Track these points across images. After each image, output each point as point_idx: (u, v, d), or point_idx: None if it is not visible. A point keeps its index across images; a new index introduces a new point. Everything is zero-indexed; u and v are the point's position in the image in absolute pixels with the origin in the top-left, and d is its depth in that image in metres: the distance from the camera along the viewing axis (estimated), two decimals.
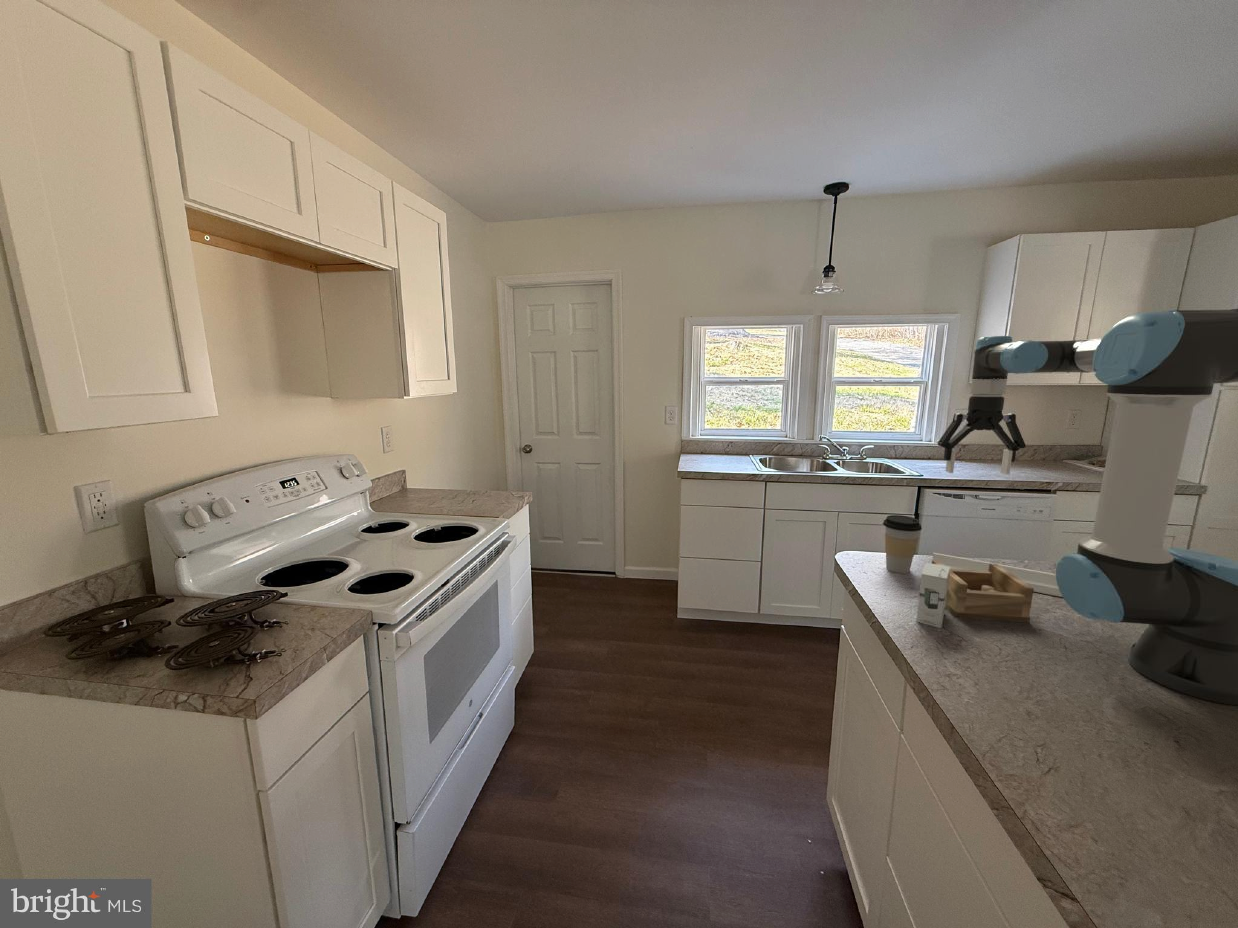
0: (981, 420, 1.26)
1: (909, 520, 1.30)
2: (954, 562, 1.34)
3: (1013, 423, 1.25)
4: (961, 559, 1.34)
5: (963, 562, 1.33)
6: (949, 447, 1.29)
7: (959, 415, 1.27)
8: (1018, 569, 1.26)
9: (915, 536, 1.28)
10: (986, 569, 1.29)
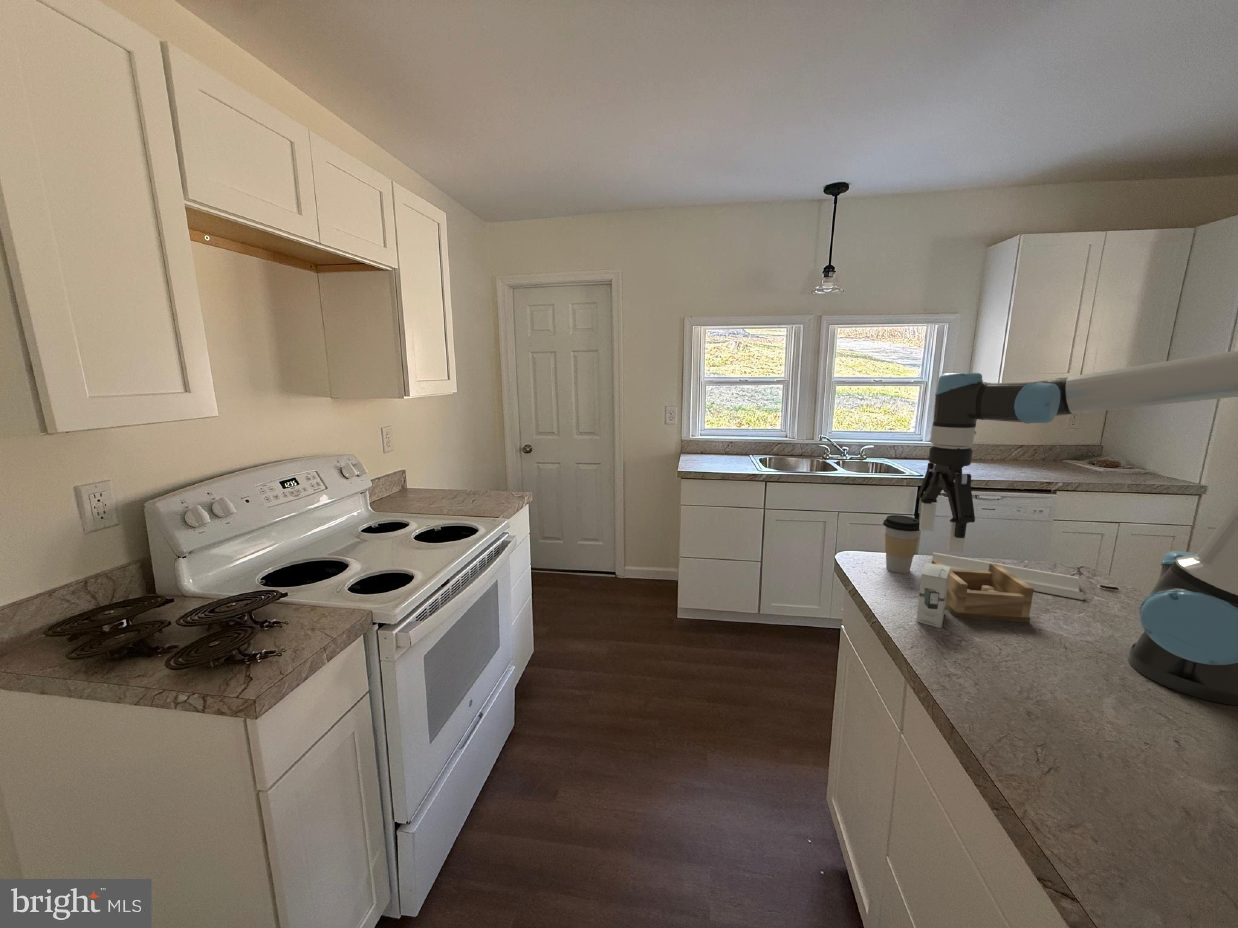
0: (934, 474, 1.03)
1: (909, 520, 1.30)
2: (954, 562, 1.34)
3: (956, 486, 0.96)
4: (961, 559, 1.34)
5: (963, 562, 1.33)
6: (921, 499, 1.11)
7: (928, 464, 1.08)
8: (1017, 568, 1.27)
9: (915, 536, 1.28)
10: (986, 569, 1.30)
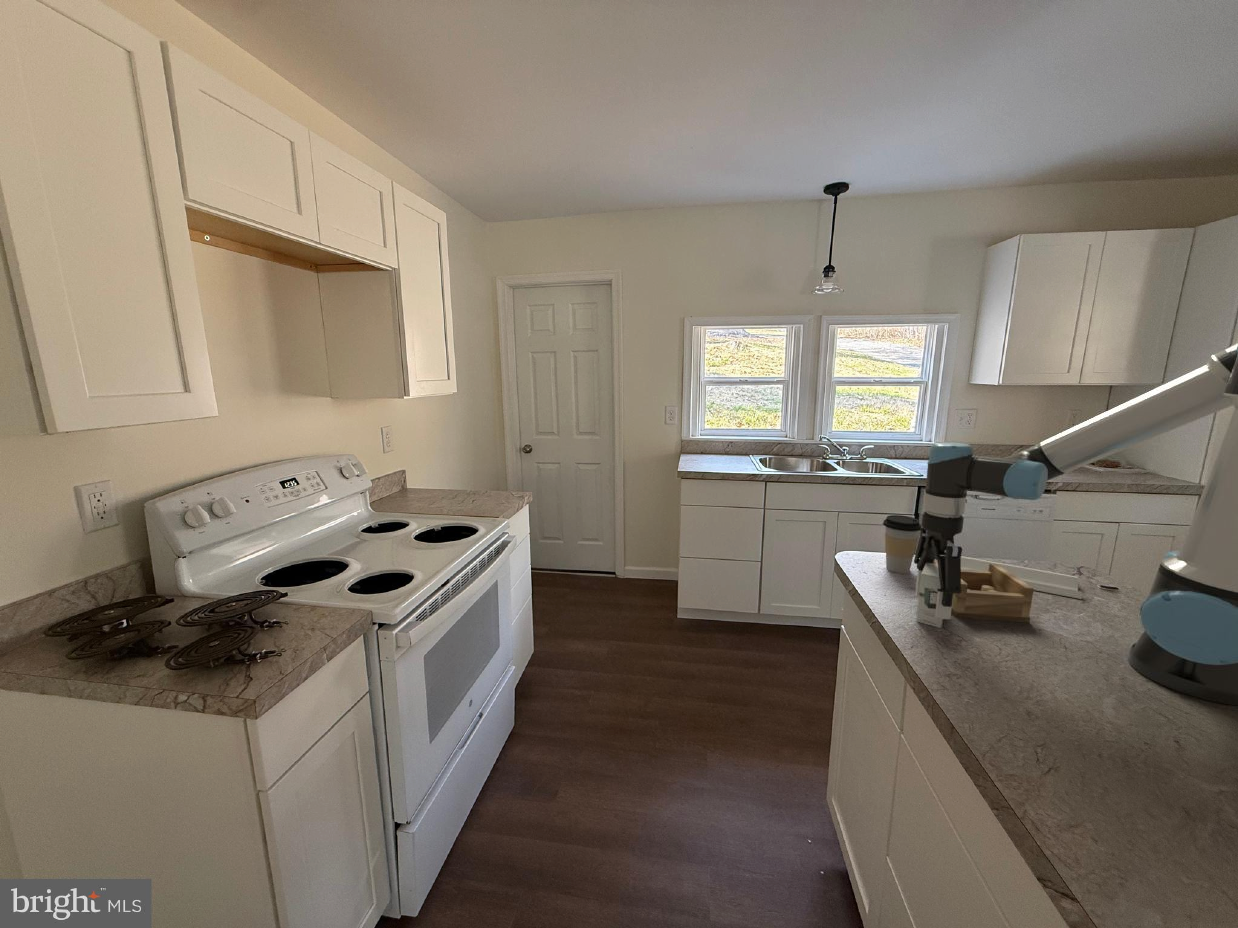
0: (927, 538, 1.06)
1: (909, 520, 1.30)
2: None
3: (946, 558, 0.99)
4: None
5: (962, 560, 1.34)
6: (917, 566, 1.12)
7: (920, 529, 1.11)
8: (1016, 567, 1.27)
9: (915, 536, 1.28)
10: (985, 567, 1.31)
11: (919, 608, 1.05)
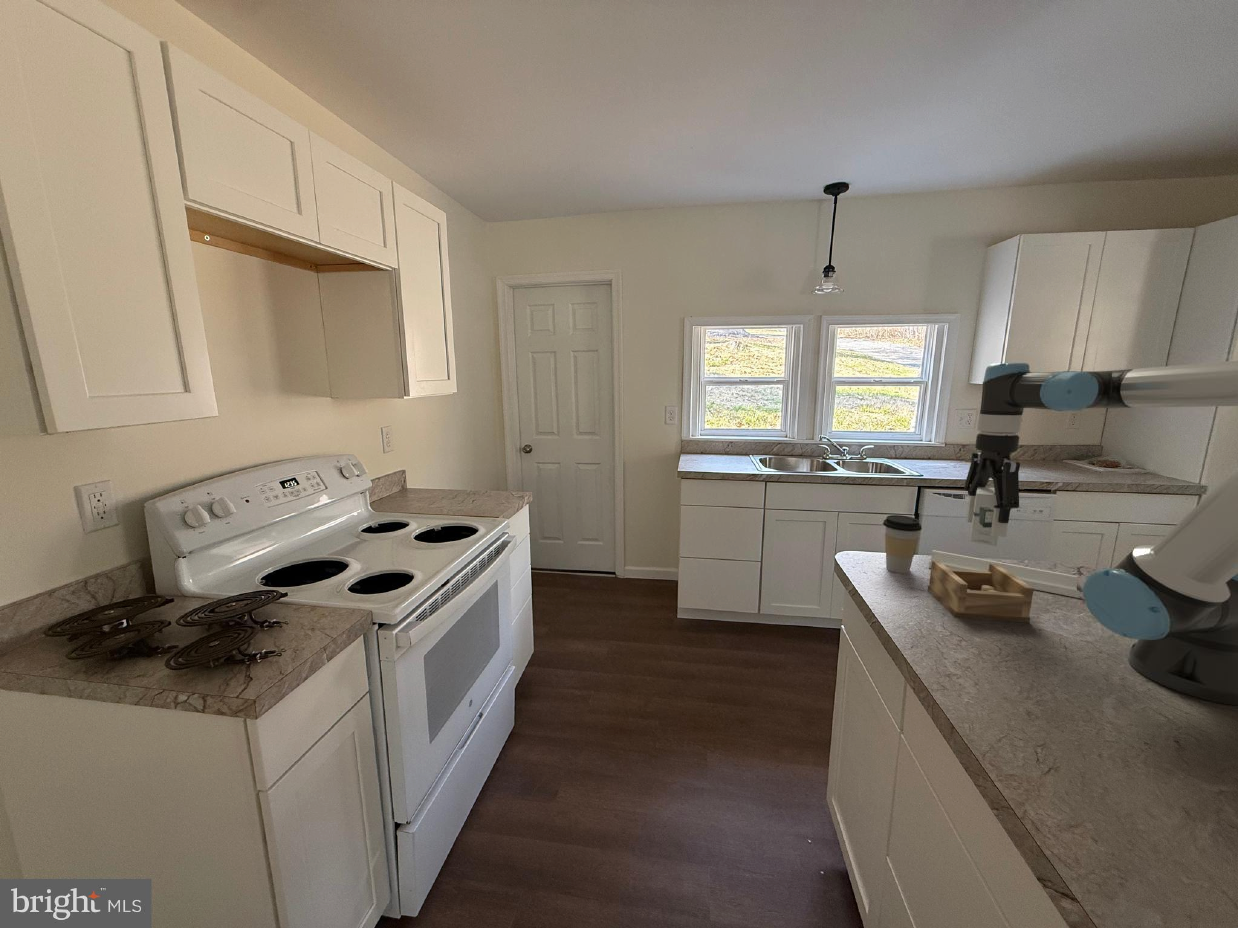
0: (980, 460, 1.08)
1: (909, 520, 1.30)
2: (953, 560, 1.36)
3: (1004, 474, 1.01)
4: (960, 556, 1.35)
5: (961, 559, 1.35)
6: (968, 492, 1.14)
7: (972, 454, 1.13)
8: (1016, 566, 1.28)
9: (915, 536, 1.28)
10: (984, 566, 1.31)
11: (974, 528, 1.07)
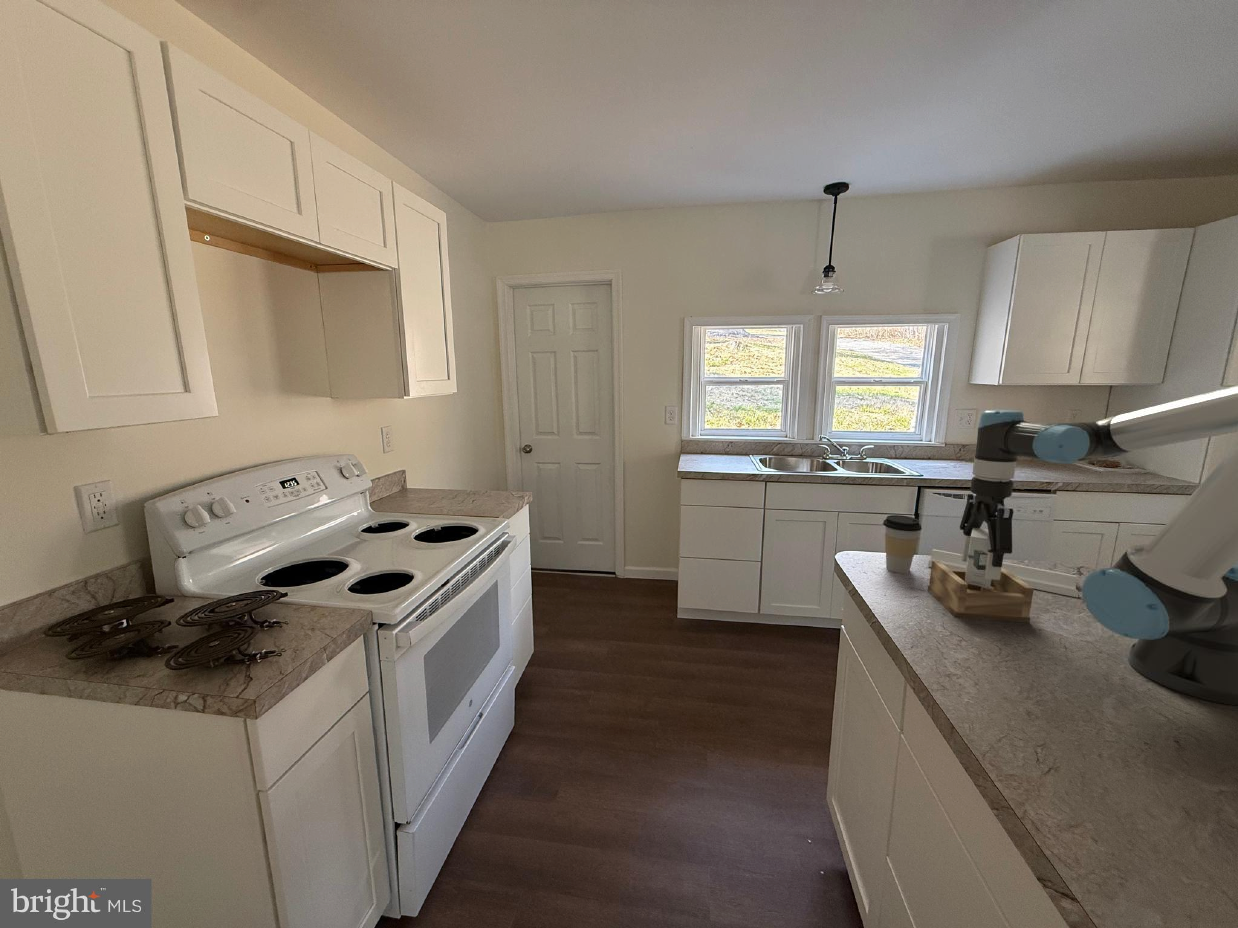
0: (975, 503, 1.10)
1: (909, 520, 1.30)
2: (953, 559, 1.36)
3: (997, 519, 1.03)
4: (959, 555, 1.36)
5: (961, 558, 1.35)
6: (963, 532, 1.16)
7: (967, 495, 1.15)
8: (1015, 566, 1.28)
9: (915, 536, 1.28)
10: None
11: (968, 570, 1.09)
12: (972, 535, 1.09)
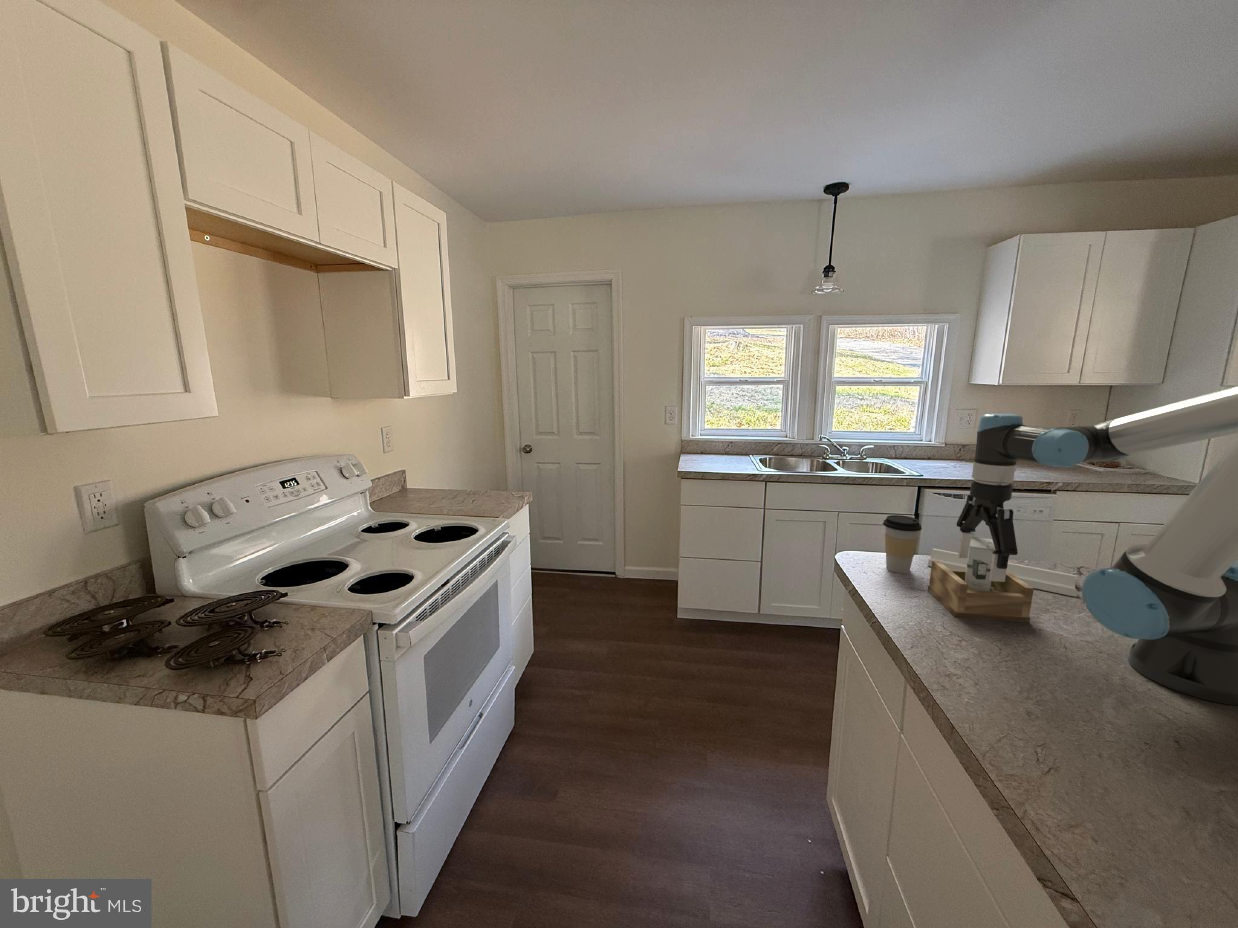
0: (975, 506, 1.10)
1: (909, 520, 1.30)
2: (952, 558, 1.37)
3: (999, 521, 1.02)
4: None
5: (961, 558, 1.36)
6: (960, 528, 1.18)
7: (967, 496, 1.15)
8: (1015, 565, 1.29)
9: (915, 536, 1.28)
10: None
11: (967, 579, 1.10)
12: (971, 544, 1.09)
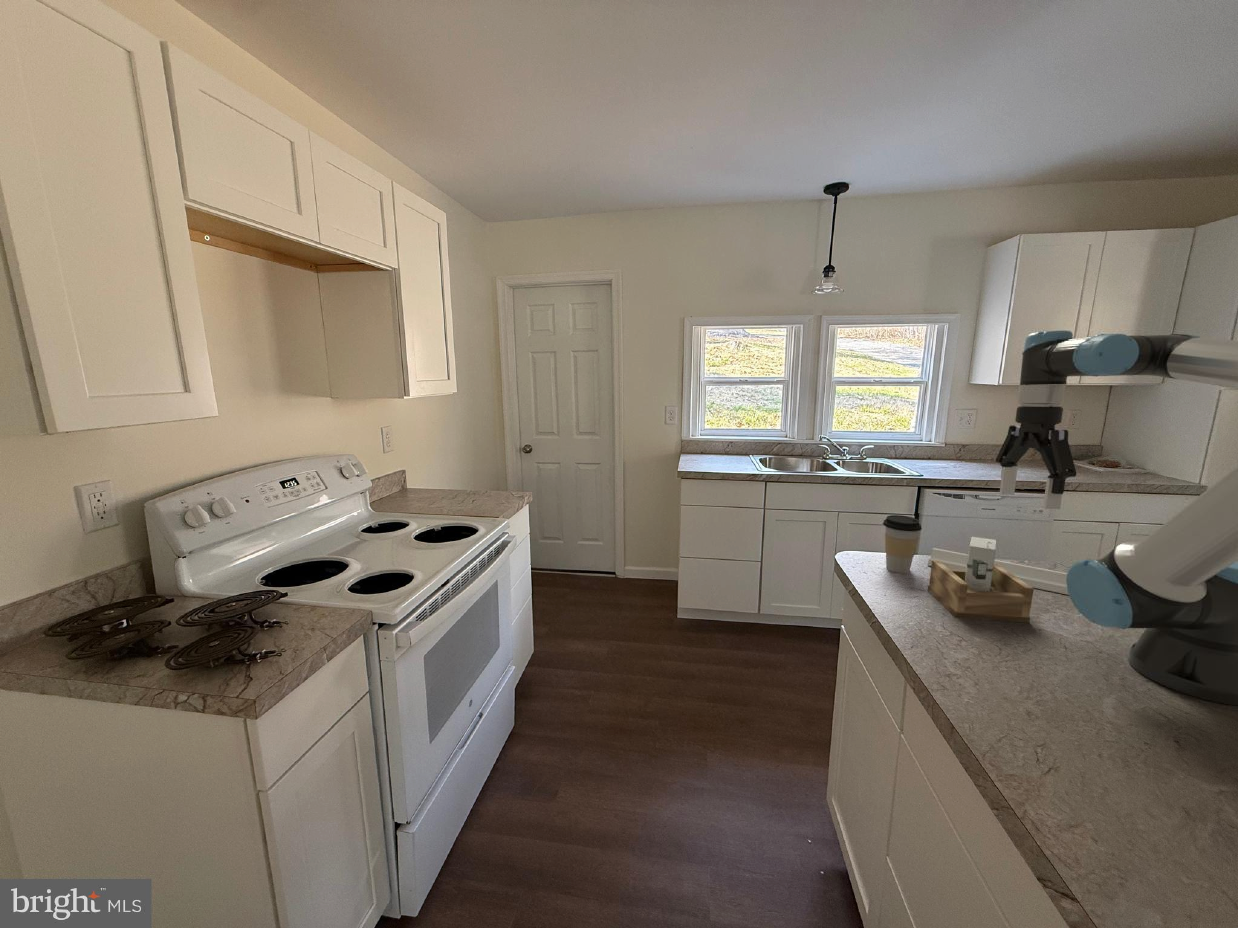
0: (1021, 434, 1.04)
1: (909, 520, 1.30)
2: (953, 557, 1.37)
3: (1053, 442, 0.96)
4: (959, 554, 1.37)
5: (961, 557, 1.36)
6: (1001, 463, 1.11)
7: (1009, 427, 1.09)
8: (1015, 565, 1.29)
9: (915, 536, 1.28)
10: None
11: (967, 579, 1.10)
12: (971, 544, 1.09)
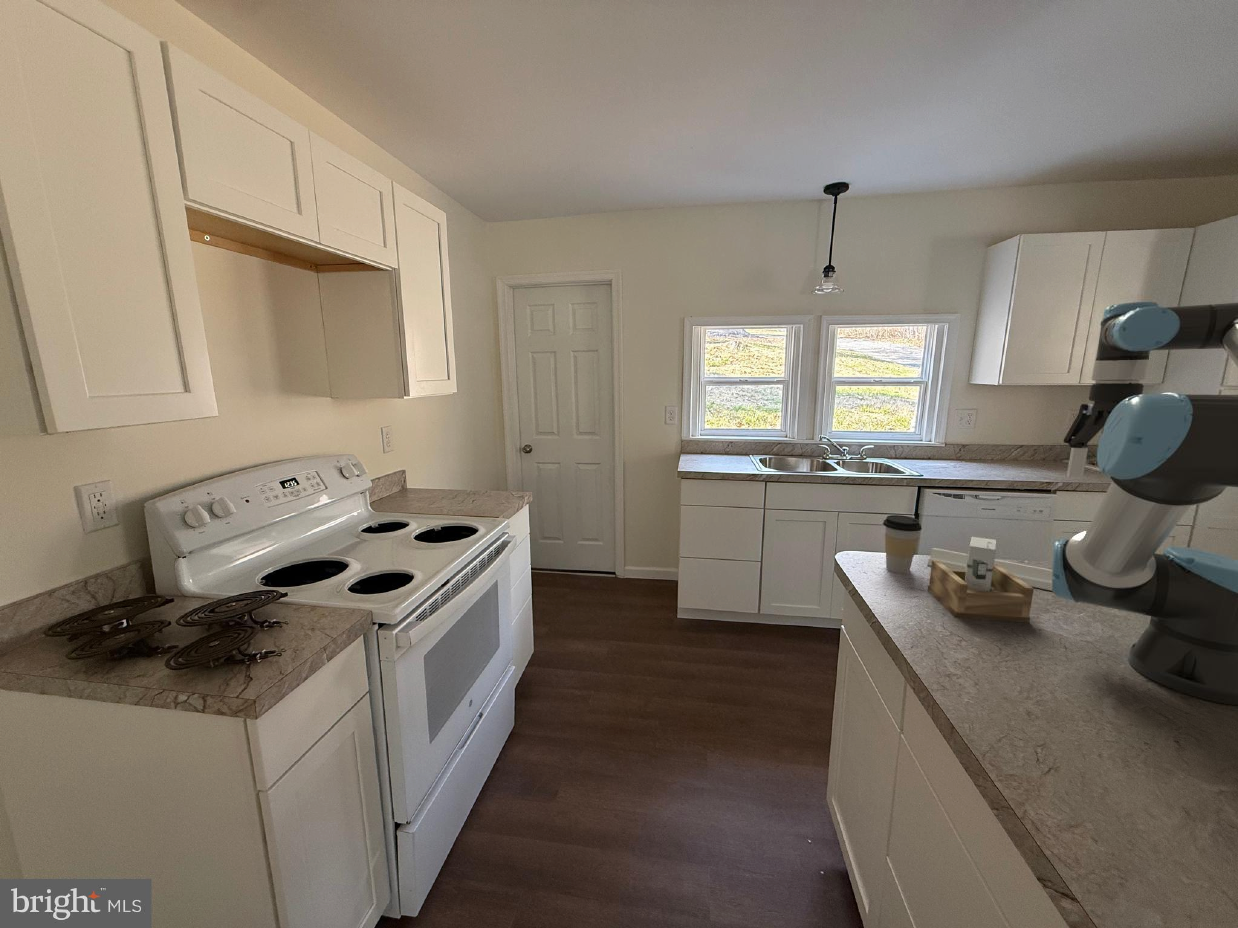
0: (1094, 413, 0.99)
1: (909, 520, 1.30)
2: (952, 557, 1.38)
3: None
4: (959, 554, 1.37)
5: (961, 557, 1.36)
6: (1069, 444, 1.06)
7: (1081, 405, 1.03)
8: (1014, 564, 1.29)
9: (915, 536, 1.28)
10: None
11: (967, 579, 1.10)
12: (971, 544, 1.09)
